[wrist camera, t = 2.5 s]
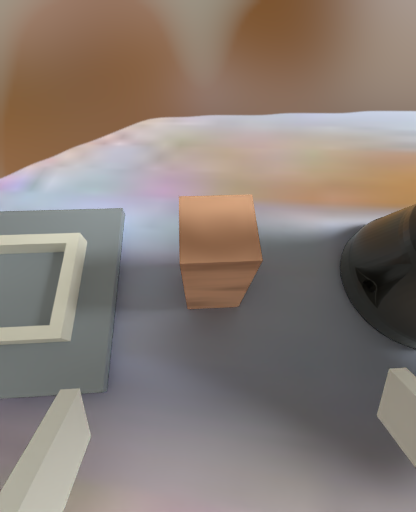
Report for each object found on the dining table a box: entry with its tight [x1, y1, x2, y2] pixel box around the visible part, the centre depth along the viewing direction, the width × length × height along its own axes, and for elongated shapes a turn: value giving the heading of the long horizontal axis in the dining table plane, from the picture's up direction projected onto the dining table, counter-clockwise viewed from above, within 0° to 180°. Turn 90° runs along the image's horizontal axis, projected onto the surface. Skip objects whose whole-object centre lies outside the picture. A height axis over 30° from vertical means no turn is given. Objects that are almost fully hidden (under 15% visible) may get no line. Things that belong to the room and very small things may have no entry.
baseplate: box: [0, 208, 125, 399], centre depth 26 cm, size 20×18×3 cm
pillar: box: [179, 195, 263, 309], centre depth 24 cm, size 6×6×12 cm
